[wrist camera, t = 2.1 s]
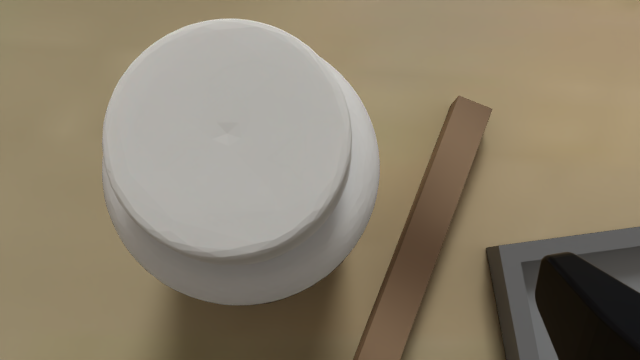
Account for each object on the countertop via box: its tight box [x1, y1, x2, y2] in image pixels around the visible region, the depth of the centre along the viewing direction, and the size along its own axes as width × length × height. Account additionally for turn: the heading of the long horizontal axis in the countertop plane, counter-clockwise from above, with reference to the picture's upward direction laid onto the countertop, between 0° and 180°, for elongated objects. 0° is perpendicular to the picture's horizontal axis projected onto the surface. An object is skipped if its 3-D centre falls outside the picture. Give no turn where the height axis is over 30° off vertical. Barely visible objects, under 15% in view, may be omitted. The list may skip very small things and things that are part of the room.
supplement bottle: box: [102, 19, 380, 306], centre depth 14 cm, size 6×6×10 cm
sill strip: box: [353, 96, 492, 360], centre depth 18 cm, size 12×1×1 cm, turn 158°
